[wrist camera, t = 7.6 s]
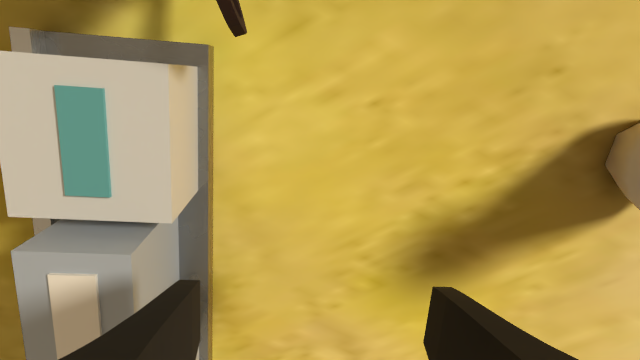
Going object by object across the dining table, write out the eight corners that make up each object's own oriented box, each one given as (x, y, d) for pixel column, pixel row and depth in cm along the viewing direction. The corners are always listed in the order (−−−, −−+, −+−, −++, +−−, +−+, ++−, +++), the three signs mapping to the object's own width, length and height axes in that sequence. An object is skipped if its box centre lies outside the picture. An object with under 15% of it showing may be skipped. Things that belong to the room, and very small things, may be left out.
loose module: (180, 306, 21) (137, 396, 15) (103, 304, 21) (28, 396, 15) (177, 201, 19) (129, 256, 14) (94, 197, 19) (7, 252, 13)
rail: (211, 411, 24) (204, 443, 22) (78, 411, 24) (58, 445, 22) (213, 46, 19) (203, 43, 17) (39, 32, 18) (6, 26, 16)
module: (198, 190, 19) (170, 225, 15) (72, 184, 19) (4, 218, 14) (197, 66, 18) (166, 63, 13) (60, 55, 17) (-19, 49, 13)
